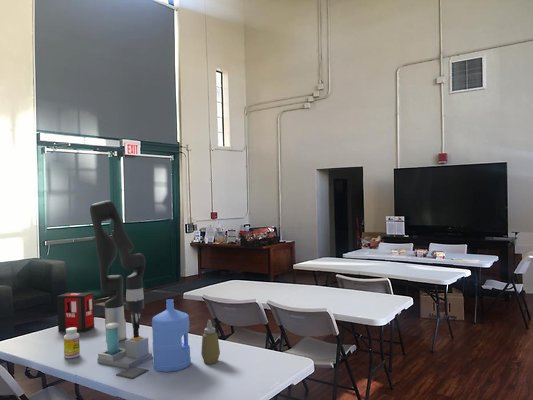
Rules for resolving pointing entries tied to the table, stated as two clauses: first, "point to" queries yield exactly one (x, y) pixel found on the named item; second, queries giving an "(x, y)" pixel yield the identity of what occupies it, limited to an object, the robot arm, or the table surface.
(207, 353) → the squeeze bottle
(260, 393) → the table surface
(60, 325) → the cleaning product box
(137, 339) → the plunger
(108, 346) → the cylinder
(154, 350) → the water jug
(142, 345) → the housing
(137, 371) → the mat
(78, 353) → the supplement bottle
